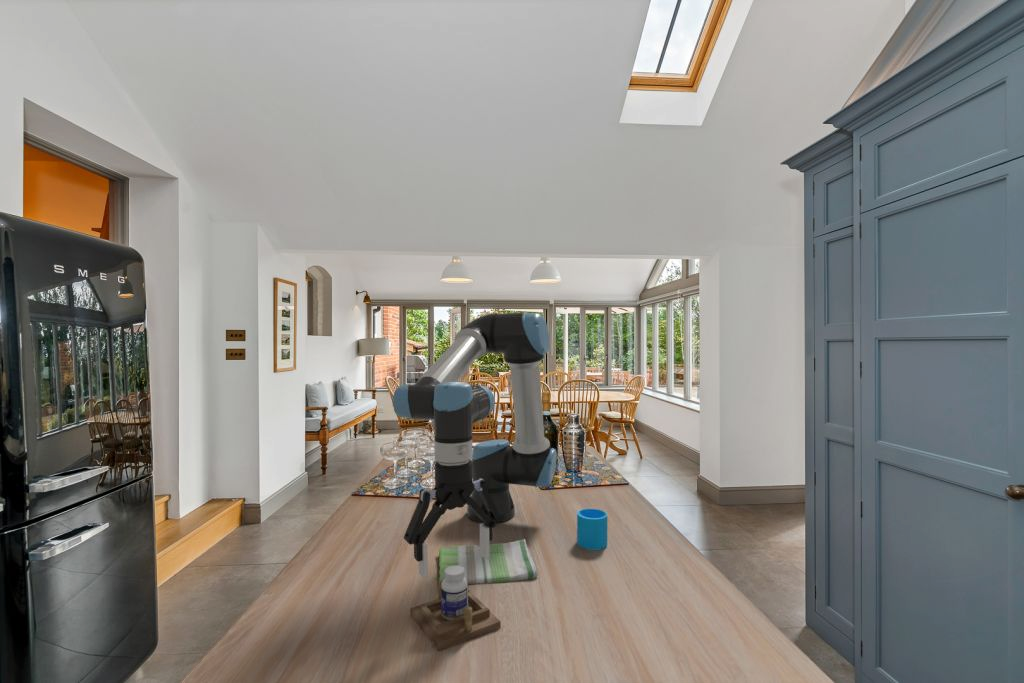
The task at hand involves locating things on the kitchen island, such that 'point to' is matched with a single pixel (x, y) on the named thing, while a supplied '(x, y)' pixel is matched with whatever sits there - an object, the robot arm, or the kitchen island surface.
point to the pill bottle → (454, 593)
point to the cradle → (454, 621)
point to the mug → (592, 529)
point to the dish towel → (490, 562)
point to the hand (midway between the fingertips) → (455, 566)
